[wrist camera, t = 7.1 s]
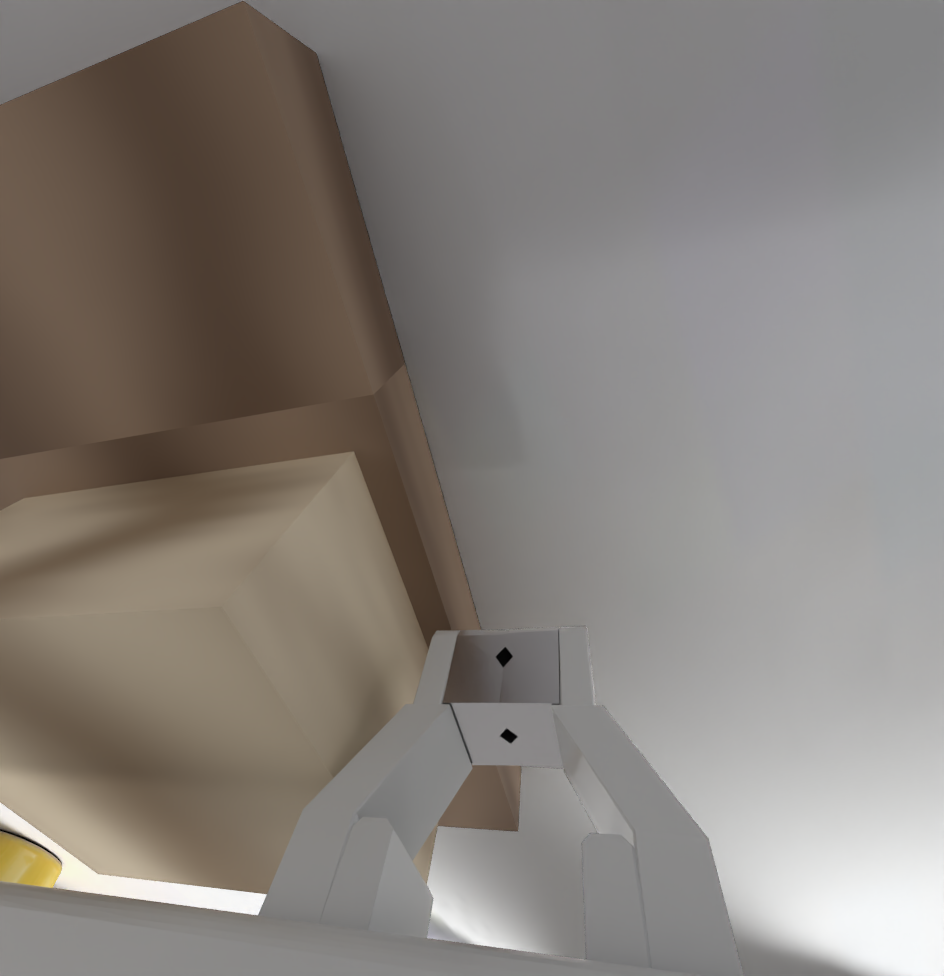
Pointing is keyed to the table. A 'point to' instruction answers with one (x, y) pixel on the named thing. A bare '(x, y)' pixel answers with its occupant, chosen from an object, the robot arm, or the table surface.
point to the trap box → (211, 301)
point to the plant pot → (26, 862)
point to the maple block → (197, 664)
